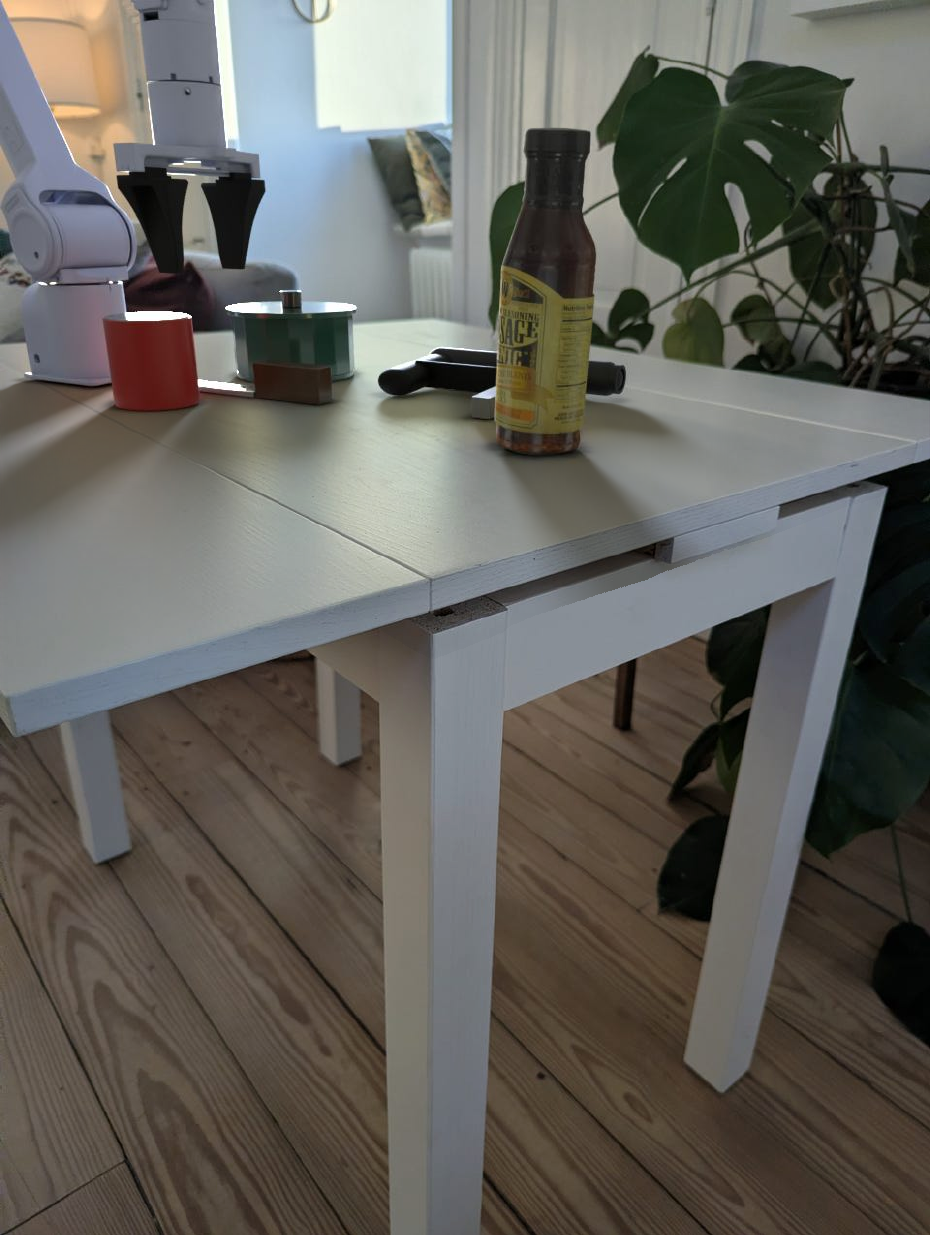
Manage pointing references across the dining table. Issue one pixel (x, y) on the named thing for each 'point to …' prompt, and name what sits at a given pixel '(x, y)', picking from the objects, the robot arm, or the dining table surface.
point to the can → (152, 360)
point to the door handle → (480, 376)
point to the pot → (294, 343)
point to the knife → (281, 383)
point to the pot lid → (291, 308)
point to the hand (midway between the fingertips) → (203, 271)
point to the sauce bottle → (546, 301)
